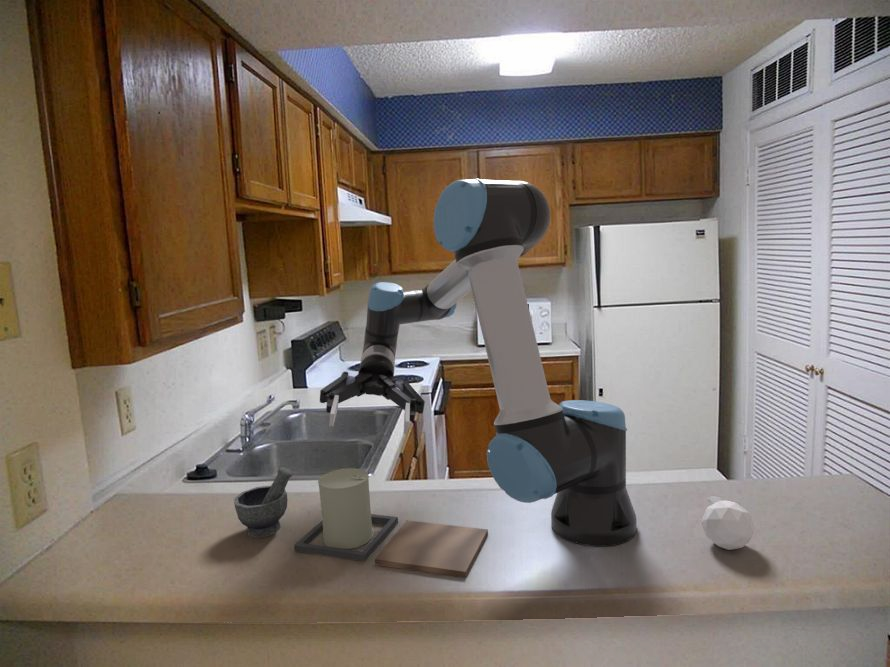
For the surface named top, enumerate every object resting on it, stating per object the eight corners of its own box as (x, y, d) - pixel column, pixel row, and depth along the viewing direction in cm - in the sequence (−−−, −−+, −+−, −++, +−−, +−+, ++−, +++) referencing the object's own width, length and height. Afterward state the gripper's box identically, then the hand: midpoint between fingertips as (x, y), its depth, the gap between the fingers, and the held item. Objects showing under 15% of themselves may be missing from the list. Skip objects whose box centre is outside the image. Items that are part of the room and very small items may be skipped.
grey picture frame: (398, 522, 109) (397, 516, 109) (365, 561, 96) (364, 554, 96) (334, 515, 114) (333, 509, 114) (294, 551, 101) (293, 545, 101)
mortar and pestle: (232, 544, 105) (224, 483, 103) (242, 521, 114) (236, 464, 112) (294, 537, 106) (288, 476, 104) (300, 514, 115) (294, 458, 113)
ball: (720, 565, 94) (693, 533, 93) (717, 528, 101) (692, 497, 99) (766, 554, 90) (738, 520, 89) (760, 516, 97) (735, 484, 95)
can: (363, 551, 100) (358, 486, 98) (314, 548, 102) (308, 484, 100) (379, 525, 109) (375, 466, 107) (334, 523, 111) (329, 464, 109)
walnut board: (487, 534, 103) (487, 529, 103) (465, 577, 90) (465, 571, 90) (406, 525, 108) (406, 520, 108) (374, 564, 95) (374, 559, 95)
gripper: (431, 390, 125) (434, 447, 106) (317, 378, 123) (299, 434, 104) (436, 360, 122) (440, 413, 103) (319, 347, 120) (301, 398, 101)
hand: (369, 424), depth 103 cm, fingers open, 13 cm apart
